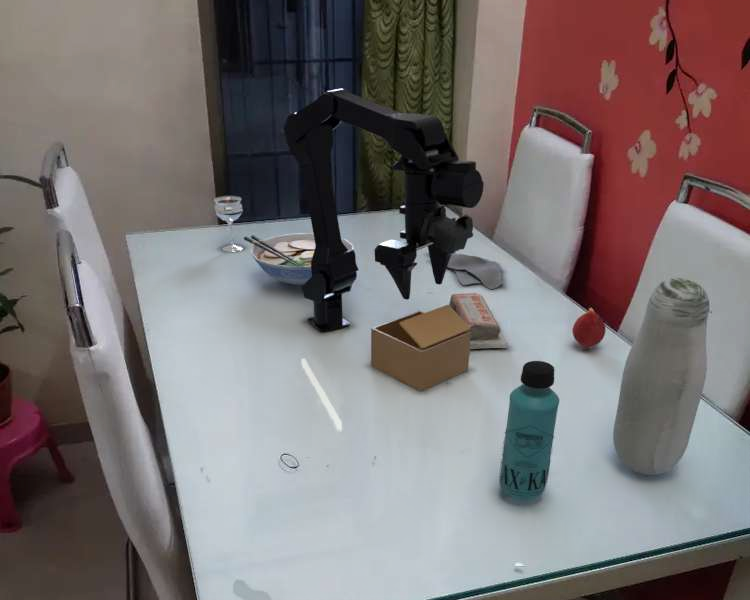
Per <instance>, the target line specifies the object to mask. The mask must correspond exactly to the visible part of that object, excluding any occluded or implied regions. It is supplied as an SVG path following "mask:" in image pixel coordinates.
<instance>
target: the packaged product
mask: <svg viewBox="0 0 750 600" xmlns="http://www.w3.org/2000/svg"><path fill="white" fill-rule="evenodd" d="M449 300H450V301H449V302H448V303H449V304H448V305H449V306H450V307H451V308H452V309H453V310H454V311H455V312H456V313H457V314H458V315H459V316H460V317H461V318H462V319H463V320H464V321H465V322H466V323H467V324H468V325H469V326H470V328H471V329H470V330H468V331H469V332H471V338H470V350H479V349H480V350H482V349H496V348H497V349H507V348H508V345H509V343H508V341H507V339H506V337H505V336H504V334H503V333H502V330H501V327H500V325H499V324H498V321H497V320H496V318H495V316H494V314H493V313H492V311H491V309H490V307H489V305H488V303H487V302H486V299H485V298H484V296H483V295H481V294H479V293H476V292H467V293H453V294H451V295H450V298H449Z"/></svg>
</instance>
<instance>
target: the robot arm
mask: <svg viewBox="0 0 750 600" xmlns="http://www.w3.org/2000/svg"><path fill="white" fill-rule="evenodd" d="M342 122H344V123H346V124H348V125H351V126H353V127H355V128H358V129H360V130H362V131H365V132H367V133H369V134H372V135H374V136H376V137H379V138H381V139H383V140H384V141H386V143H387V144H388V145H389V147H390V149H391V150H392V151H394V152H395V153H397V154H399V155H400V158H399V160H398V161H397V162H395V163H394V165H393V166H392V170H394V171H398V172H403V197H404V198H403V199H404V201H403V202H404V205H401V206H399V207H398V210H399V212H398V213H399V215H400V214H402V215H404V230H402V231H399V238H400V239H402V240H403V239H404V240H405V241H401V240H395V239H389V240H386V241H384V242H381V243H379V244H377V246H376V247H375V248H374V262H375V263H379V264H380V265H381V266H384V267H385V268H386V270H387V272H388V273H389V275H390V277H391V278H392V280H393V282H394V284H395V286H396V288H397V289H398V291H399V293H400V296H401V297H402V299H403V300H407V301H408V300H410V299H411V297H410V296H411V287H412V285H411V283H412V272H413V270H414V269H415V267H416V266H417V265H418V262H416V259H417V256H418V255H417V251H420V250H422V249H424V248H426V247H427V250H428V255H429V261H430V265H431V270H432V275H433V280H434V282H435V284H436V285H442V284H443V281H444V279H445V276H446V275H445V274H446V272H447V269H448V267H447V266H448V263H449V260H450V257H451V255H452V254H453V253H455V254H456V252H458V251H460V250H461V251H462V250H464V249H465V247H466V245H467V242H468V240H469V239H471V238H473V237H474V232H473V231H474V223H473V217H471V216H470V215H468V214H464V215H462V216H459V217H458V218H456V217H452V218H450V217H448V216H447V209H446V207H445V205H446V206H454V207H460V208H466V209H473V208H475V207H476V206H478V205H479V203H480V201H481V199H482V196H483V192H484V186H485V185H484V183H485V182H484V181H483V178H482V174H481V172H480V171H479V170H477V162H476V161H474V160H467V161H461V160H460V159H459V156H458V154H457V152H456V150H455V149H454V146H453V145H452V143H451V141H450V139H449V137H448V136H447V133H446V131H445V128H444V126H443V122H442V121H441V119H440V118H438V117H437V116H434V115H430V114H423V113H413V112H412V113H410V112H409V113H407V112H399V111H396V110H394V109H391V108H389V107H386V106H384V105H381V104H379V103H377V102H374V101H371V100H369V99H366V98H363V97H361V96H358V95H356V94H353V93H352V92H350V91H349V90H347V89H345V88H338V89H332V90H331V89H330V90H327V91H324V93H322V94H321V95H319V97H318V98H317V99H315V100H314V101H312V102H311V103H309V104H307V105H306V106H304V107H303V108H301V109H300V110H298V111H297V112H293V113H290V114H289V115H288V116H287V118H286V119H285V122H284V123H283V132H284V137H285V140H286V144H287V147H288V151H289V153H290V154H291V155H292V157H293V158H294V160H295V161H296V162H297V163H298V165H299V166H300V168H301V173H302V179H303V185H304V190H305V194H306V195H305V197H306V201H307V206H308V211H309V216H310V217H309V218H310V222H311V228H312V233H313V234H314V239H315V250H314V254H313V257H312V260H311V273H312V277H311V278H310V279H309V280H308V281H307V282H306V283H305V284H304V285H303V286H301V291H302V292H301V293H302V295H303V298H304V299H306V300H310V301H312V305H313V317H308V318H307V322H308V324H310V325H311V326H312V327H314V328H315V329H316V330H318V331H319V332H320V333H325V332H329V331H332V330H338V329H341V328H346V327H349V326H350V325H351V323H350V322H349V321H347V319H345V318H344V315H343V294H345V293H349V292H351V290H352V287H353V284H354V282H355V281H356V280H357V272H358V271H360V270H359V268H358V265H357V260H356V252H355V250H354V249H353V250H348V249H347V248H346V246H345V245H344V244H343V243H342V240H341V238H342V235H341V230H340V223H339V218H338V212H337V206H336V200H335V194H334V188H333V182H332V177H331V169H330V164H329V160H330V157H331V154H332V151H333V147H334V130H335V129H337V128H338V127H339V126H340V125H341V124H342Z"/></svg>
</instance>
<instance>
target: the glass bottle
mask: <svg viewBox="0 0 750 600" xmlns="http://www.w3.org/2000/svg"><path fill="white" fill-rule="evenodd" d="M709 313H710V299H709V296H708V294H707V292H706V290H705V289H704V287H702V286H701V285H700V284H699V283H697V282H694V281H692V280H689V279H686V278H683V277H673V278H669V279H666V280H664V281H662V282H660V283H659V284H657V285H656V287H655V288H654V290H653V291H652V292H651V294H650V297H649V298H648V301H647V305H646V309H645V313H644V315H643V320H642V323H641V326H640V328H639V330H638V333H637V334H636V337H635V339H634V340H633V342H632V345H631V347H630V349H629V351H628V355H627V357H626V360H625V363H624V367H623V371H622V377H621V383H620V390H619V395H618V401H617V409H616V412H615V413H616V414H615V419H614V423H613V424H614V425H613V432H612V439H613V442H612V443H613V447H614V450H615V453H616V455H617V457H618V458H619V460H620V461H621V463H622V464H624V465H625V467H627V468H628V469H630V470H632V471H634V472H636V473H638V474H641V475H644V476H646V475H647V476H656V475H660V474H664V473H667V472H669V471H672V469H674V468H675V467H676V466H677V464H678V463H679V462H680V461H681V459H682V458H683V456H684V454H685V452H686V450H687V448H688V445H689V442H690V439H691V435H692V431H693V427H694V423H695V421H696V417H697V412H698V409H699V405H700V402H701V399H702V394H703V391H704V386H705V382H706V378H707V365H708V359H707V358H708V357H707V356H708V355H707V327H708V317H709Z"/></svg>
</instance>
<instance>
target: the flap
mask: <svg viewBox="0 0 750 600" xmlns="http://www.w3.org/2000/svg"><path fill="white" fill-rule="evenodd" d="M399 324H400V326H401V327H402V328H403V329H404V330H405V331H406V332H407V333H408V334H409V335H410V337H411V338H412V339H413V340H414V341H415V342H416V343H417V344H418V345H419V346H420V347H421V349H424V348H426V347H429V346H431V345H434V344H436V343H439V342H441V341H444V340H446V339H448V338H451V337H453V336H456V335H458V334H461V333H463V332H466V331H468V330H470V329H471V328H470V326H469V325H468V324H467V323H466V322H465V321H464V320H463V319H462V318H461V317H460V316H459V315H458V314H457V313H456V312H455V311H454V310H453V309H452V308H451V307H450V306H449V304H445V305H443V306H440V307H437V308H434V309H432V310H429V311H426V312H424V313H423V314H421V315H418V316H415V317H413V318H410V319H407V320H405V321H402V322H400V323H399Z"/></svg>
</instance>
